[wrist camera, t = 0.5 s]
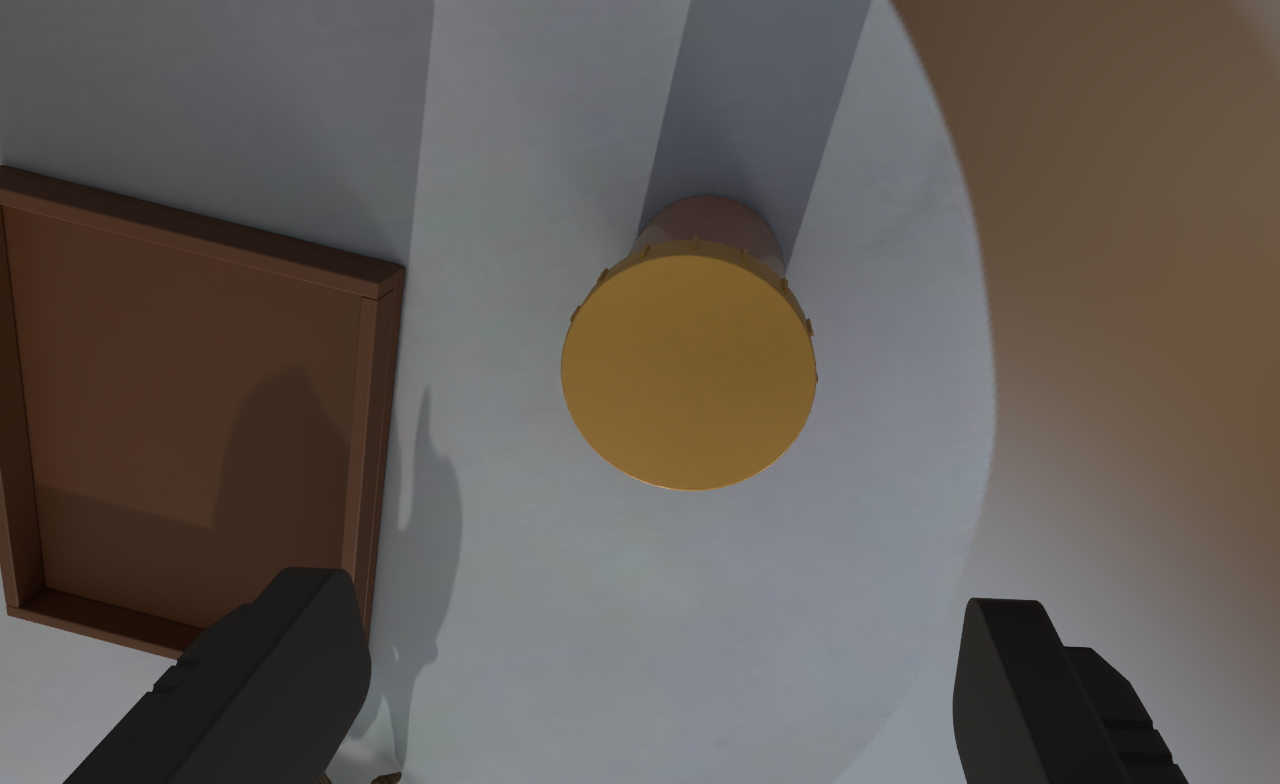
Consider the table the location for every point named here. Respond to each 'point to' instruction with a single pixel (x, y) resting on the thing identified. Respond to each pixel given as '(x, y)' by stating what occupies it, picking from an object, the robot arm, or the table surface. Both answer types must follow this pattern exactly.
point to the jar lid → (689, 366)
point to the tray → (181, 412)
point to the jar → (714, 228)
